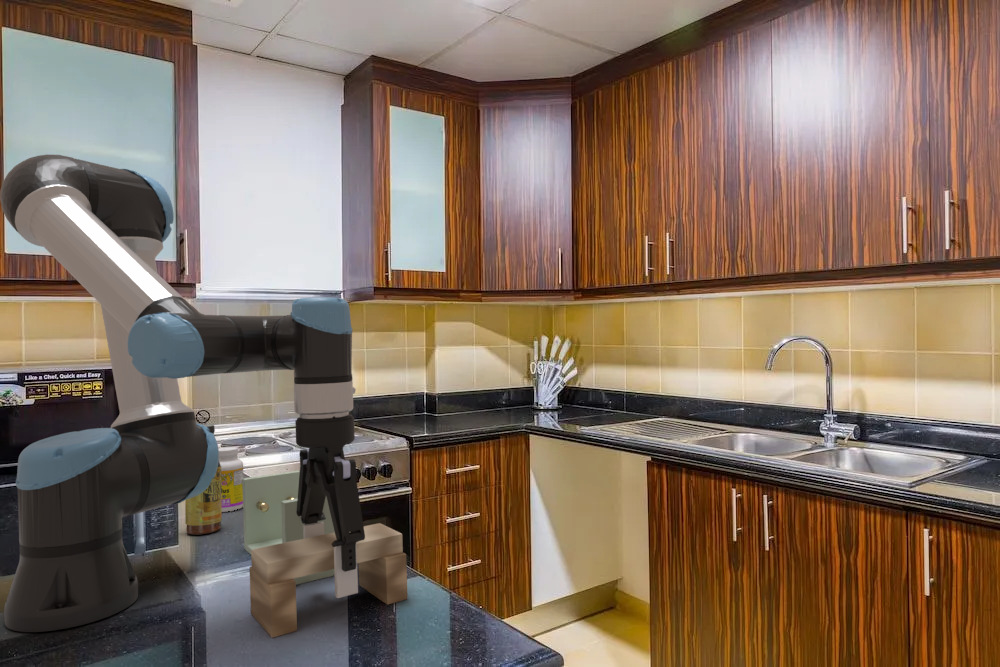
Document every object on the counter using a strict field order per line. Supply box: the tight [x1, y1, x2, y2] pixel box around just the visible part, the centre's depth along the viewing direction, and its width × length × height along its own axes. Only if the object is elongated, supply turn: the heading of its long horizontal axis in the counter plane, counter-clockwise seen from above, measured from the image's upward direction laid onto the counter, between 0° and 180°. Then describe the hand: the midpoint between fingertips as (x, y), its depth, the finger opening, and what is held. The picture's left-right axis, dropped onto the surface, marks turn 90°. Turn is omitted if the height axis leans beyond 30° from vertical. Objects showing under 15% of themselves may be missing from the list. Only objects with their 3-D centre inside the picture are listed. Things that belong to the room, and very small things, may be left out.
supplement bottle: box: [218, 446, 244, 513], centre depth 141 cm, size 7×7×13 cm
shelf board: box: [250, 522, 404, 585], centre depth 87 cm, size 18×7×2 cm, turn 126°
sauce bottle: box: [184, 424, 223, 536], centre depth 125 cm, size 6×6×20 cm
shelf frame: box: [242, 469, 335, 586], centre depth 107 cm, size 23×10×12 cm, turn 36°
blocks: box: [249, 552, 408, 638], centre depth 87 cm, size 18×9×6 cm, turn 126°
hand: (330, 582), depth 87 cm, fingers open, 10 cm apart
